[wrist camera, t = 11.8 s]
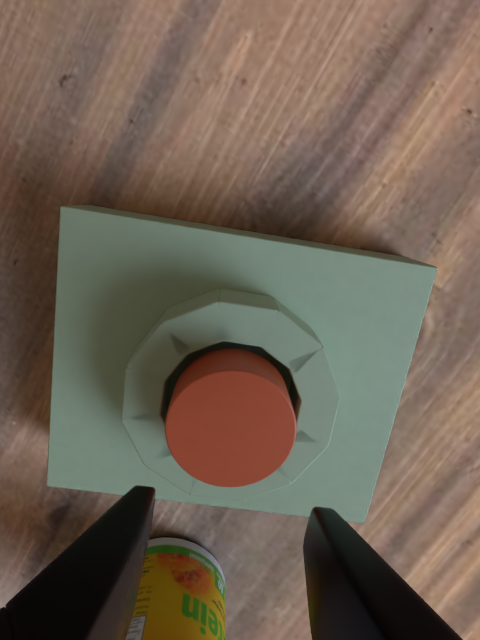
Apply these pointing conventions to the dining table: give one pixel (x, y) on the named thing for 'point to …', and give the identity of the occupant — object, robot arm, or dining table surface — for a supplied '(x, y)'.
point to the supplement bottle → (179, 594)
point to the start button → (230, 419)
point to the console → (221, 333)
